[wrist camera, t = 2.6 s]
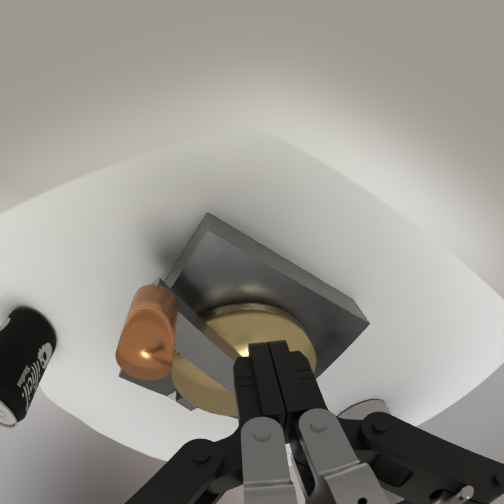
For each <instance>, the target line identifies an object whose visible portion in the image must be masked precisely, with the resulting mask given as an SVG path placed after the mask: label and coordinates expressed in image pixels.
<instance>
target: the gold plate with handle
mask: <svg viewBox="0 0 504 504" xmlns="http://www.w3.org/2000/svg"><path fill="white" fill-rule="evenodd" d="M278 340H286V342H287V344H288V347H289V350H290V352H292V351H300V352H301V353H302V354H303V355H304V356H305V357H306V358H308V361H309V363H310V366H311V370H312V371H313V374H314V371H315V368H316V355H315V350H314V348H313V346H312V344H311V341H310V339H309V337H308V334H307V332H306V330H305V328H304V327H303V325H302V324H301V323H300V322H299V321H298V320H297V319H296V318H295V317H293V316H292V315H291V314H289V313H287V312H285V311H284V310H281V309H279V308H276V307H273V306H269V305H265V304H256V303H240V304H232V305H227V306H222V307H219V308H216V309H213V310H211V311H208V312H206V313H204V314H202V315H200V316H198V315H197V314H196V313H195V312H194V311H193V310H192V309H191V308H190V307H189V306H187V305H186V304H185V303H184V302H183V301H182V300H181V299H180V298H179V297H178V296H177V295H176V294H175V293H174V292H173V291H172V290H171V289H170V288H169V287H168V286H167V285H166V284H165V283H164V282H163V281H162V280H161V279H160V278H159V279H158V280H156V281H155V282H154V283H152V284H151V285H146V286H144V287H142V288H140V289H139V290H138V291H137V292H136V293H135V295H134V298H133V301H132V304H131V307H130V310H129V313H128V316H127V319H126V322H125V325H124V328H123V331H122V334H121V337H120V340H119V344H118V347H117V350H116V361H117V363H118V365H119V366H120V367H121V369H122V370H123V371H125V372H126V373H127V374H129V375H131V376H132V377H135V378H138V379H141V380H158V379H161V378H164V377H165V376H167V375H168V374H169V373H170V371H171V369H172V371H171V373H172V380H173V383H174V385H175V387H176V402H178V403H179V404H181V405H182V406H184V407H185V408H187V409H189V410H190V411H192V410H194V409H196V408H200V409H202V410H204V411H207V412H210V413H214V414H218V415H225V416H238V414H237V406H236V399H235V391H234V376H233V366H234V363H235V361H236V359H237V357H246V356H248V344H249V343H259V342H269V341H278Z"/></svg>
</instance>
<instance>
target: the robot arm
mask: <svg viewBox="0 0 504 504" xmlns="http://www.w3.org/2000/svg"><path fill="white" fill-rule="evenodd" d="M233 376H234V391H235V399H236V406H237V414H238V421H239V426H238V428H237V430H236V431H235V432H234V433H233V434H232V435H230V436H229V437H227V438H225V439H222V440H219V441H216V442H213V441H210V440H207V439H194V440H191V441H189V442H187V443H186V444H184V445H183V446H182V447H181V448H180V449H179V451H178V452H177V453H176V454H175V455H174V456H173V457H172V458H171V459H170V460H169V461H168V462H167V463H166V464H165V465H164V466H163V467H162V468H161V469H160V470H159V471H158V472H157V473H156V474H155V475H154V476H153V477H152V478H151V479H150V480H149V481H148V482H147V483H146V484H145V485H144V486H143V487H142V488H141V489H140V490H139V491H138V492H137V493H135V494H134V495H133V496H132V497H131V498H130V499H129V500H128V501H127V502H126V503H125V504H216V503H217V502H218V500H219V499H220V498H221V497H222V496H223V494H224V493H225V492H226V491H227V490H230V489H233V488H235V487H238V486H240V485H242V484H243V485H244V503H245V504H297V498H296V492H295V487H294V484H293V482H292V481H291V479H290V473H289V466H288V460H287V453H286V447H285V444H287V443H290V447H291V450H292V453H291V461H292V464H293V467H294V470H295V473H296V475H297V478H298V481H299V484H300V486H301V489H302V492H303V494H304V497H305V504H491V503H492V501H494V500H495V499H497V498H498V497H500V496H501V495H502V494H504V464H502V463H499V462H497V461H494V460H492V459H489V458H486V457H484V456H481V455H479V454H476V453H474V452H471V451H469V450H466V449H464V448H462V447H459V446H457V445H455V444H452V443H450V442H448V441H445V440H443V439H441V438H439V437H437V436H434V435H432V434H430V433H428V432H426V431H423V430H421V429H419V428H417V427H415V426H413V425H411V424H409V423H406V422H404V421H402V420H400V419H398V418H396V417H394V416H392V415H391V413H390V412H389V410H388V408H387V406H386V404H385V402H383V401H381V400H369V401H365V402H362V403H360V404H357V405H355V406H353V407H351V408H349V409H348V410H346V411H345V412H343V413H342V414H341V415H339V416H338V417H337V416H335V415H334V414H333V413H332V412H330V411H329V410H328V409H327V407H326V405H325V402H324V399H323V397H322V394H321V392H320V389H319V386H318V384H317V381H316V379H315V377H314V374H313V371H312V370H311V366H310V363H309V361H308V358H306V357H305V356H304V355H303V354H302V353H301V352H300V351H292V352H290V350H289V347H288V344H287V342H286V340H278V341H269V342H259V343H249V344H248V356H246V357H237V359H236V361H235V363H234V366H233Z"/></svg>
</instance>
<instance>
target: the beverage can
mask: <svg viewBox="0 0 504 504" xmlns="http://www.w3.org/2000/svg"><path fill="white" fill-rule="evenodd" d="M55 347H56V342H55V338H54V335H53V332H52V330H51V328H50V326H49V325H48V323H47V322H46V321H45V320H44V319H43V318H42V317H41V316H39V315H38V314H36V313H34V312H32V311H29V310H22V309H19V310H15V311H13V312H11V313H10V315H9V316H8V317H7V319H6V320H5V322H4V323H3V324H2V326H1V327H0V426H2V427H5V428H9V429H14V428H16V427H17V423H18V422H19V421H21V420H23V419H24V418H25V416H26V414H27V411H28V409H29V406H30V404H31V401H32V399H33V396H34V394H35V392H36V389H37V387H38V385H39V383H40V380H41V378H42V376H43V374H44V372H45V369H46V367H47V365H48V363H49V361H50V359H51V357H52V355H53V353H54V351H55Z"/></svg>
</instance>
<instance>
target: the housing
mask: <svg viewBox="0 0 504 504" xmlns="http://www.w3.org/2000/svg"><path fill="white" fill-rule="evenodd" d="M164 283H165V284H166V285H167V286H168V287H169V288H170V289H171V290H172V291H173V292H174V293H175V294H176V295H177V296H178V297H179V298H180V299H181V300H182V301H183V302H184V303H185V304H186V305H187V306H189V307H190V308H191V309H192V310H193V311H194V312H195V313H196V314H197V315H198V316H200V315H202V314H204V313H206V312H208V311H211V310H213V309H216V308H219V307H222V306H227V305H232V304H240V303H256V304H265V305H269V306H273V307H276V308H279V309H281V310H284V311H285V312H287V313H289V314H291V315H292V316H293V317H295V318H296V319H297V320H298V321H299V322H300V323H301V324H302V325H303V327H304V328H305V330H306V332H307V334H308V337H309V339H310V341H311V344H312V346H313V348H314V350H315V355H316V368H315V371H314V377H315V379H316V378H317V377H319V376H320V375H321V374H322V373H323V372H324V371H325V370H326V369H327V368H328V367H329V366H330V365H331V364H332V363H333V362H334V361H335V360H336V359H337V358H338V357H339V356H340V355H341V354H342V353H343V352H344V351H345V350H346V349H347V348H348V347H349V346H350V345H351V344H352V343H353V342H354V340H355V339H356V338H357V337H358V336H359V335H360V334H361V333H362V332H363V331H364V330H365V329H366V328H367V326H368V325H369V324H370V323H369V321H368V320H367V318H366V317H365V315H364V314H363V313H362V311H361V310H360V308H359V307H358V306H357V304H356V303H355V301H354V300H352V299H351V298H349V297H348V296H346V295H344V294H343V293H341V292H339V291H338V290H336V289H334V288H333V287H331V286H329V285H328V284H326V283H325V282H323V281H321V280H320V279H318V278H316V277H315V276H313V275H311V274H310V273H308V272H306V271H305V270H303V269H301V268H300V267H298V266H296V265H295V264H293V263H291V262H290V261H288V260H286V259H285V258H283V257H281V256H280V255H278V254H276V253H275V252H273V251H271V250H270V249H268V248H266V247H265V246H263V245H261V244H260V243H258V242H256V241H255V240H253V239H251V238H250V237H248V236H246V235H245V234H243V233H241V232H240V231H238V230H236V229H235V228H233V227H231V226H230V225H228V224H226V223H225V222H223V221H221V220H219V219H218V218H216V217H214V216H213V215H211V214H209V213H207V215H206V216H205V218H204V219H203V221H202V222H201V224H200V225H199V227H198V229H197V230H196V232H195V233H194V235H193V236H192V238H191V240H190V241H189V243H188V244H187V246H186V248H185V249H184V251H183V252H182V254H181V256H180V257H179V259H178V260H177V262H176V264H175V265H174V267H173V269H172V270H171V272H170V274H169V275H168V277H167V279H166V280H165V282H164ZM171 371H172V369H171ZM171 371H170V373H169V374H168V375H167V376H165V377H164V378H161V379H158V380H141V379H138V378H135V377H132V376H131V375H129V374H127V373H126V372H125V371H123V370H122V369H121V370H120V374H119V377H121V378H123V379H126V380H128V381H130V382H133V383H135V384H137V385H140V386H142V387H145V388H147V389H150V390H152V391H155V392H157V393H160V394H162V395H165V396H168V397H169V398H171V399H172V400H174V399H176V387H175V385H174V383H173V380H172V373H171ZM229 417H233V418H237V419H238V416H229Z"/></svg>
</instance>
